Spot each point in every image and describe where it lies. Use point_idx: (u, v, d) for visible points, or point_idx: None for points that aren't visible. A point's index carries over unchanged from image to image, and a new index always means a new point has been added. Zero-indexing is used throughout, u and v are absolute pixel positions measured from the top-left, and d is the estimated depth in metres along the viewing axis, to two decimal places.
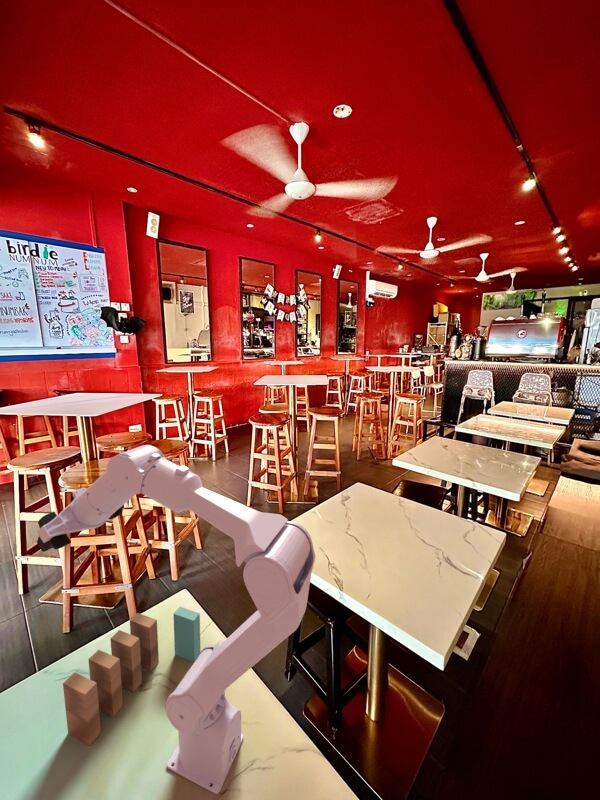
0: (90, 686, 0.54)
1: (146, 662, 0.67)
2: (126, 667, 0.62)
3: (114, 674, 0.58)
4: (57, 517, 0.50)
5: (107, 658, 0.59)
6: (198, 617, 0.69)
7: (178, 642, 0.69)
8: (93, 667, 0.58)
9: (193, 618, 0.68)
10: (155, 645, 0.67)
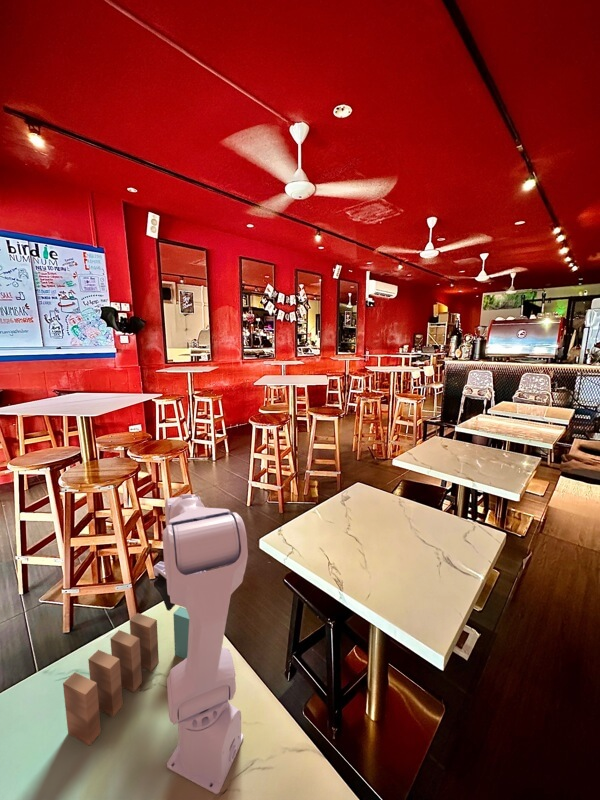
0: (90, 686, 0.54)
1: (146, 662, 0.67)
2: (126, 667, 0.62)
3: (114, 674, 0.58)
4: None
5: (107, 658, 0.59)
6: None
7: (178, 642, 0.69)
8: (93, 667, 0.58)
9: None
10: (155, 645, 0.67)
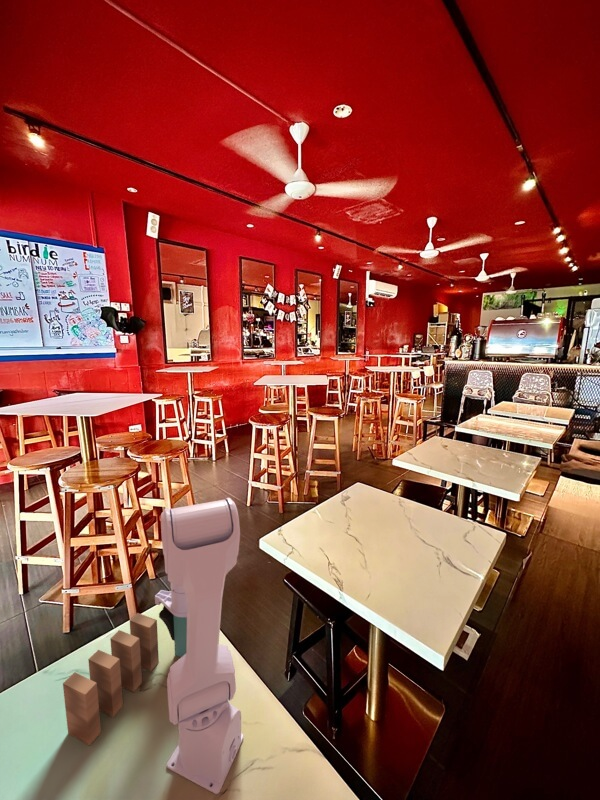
0: (90, 686, 0.54)
1: (146, 662, 0.67)
2: (126, 667, 0.62)
3: (114, 674, 0.58)
4: (170, 591, 0.71)
5: (107, 658, 0.59)
6: None
7: (178, 642, 0.69)
8: (93, 667, 0.58)
9: None
10: (155, 645, 0.67)
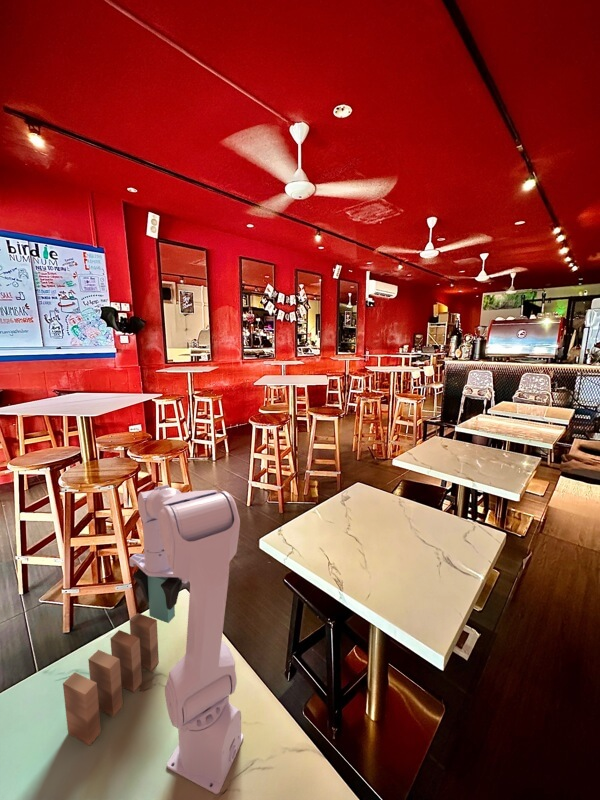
0: (90, 686, 0.54)
1: (146, 662, 0.67)
2: (126, 667, 0.62)
3: (114, 674, 0.58)
4: None
5: (107, 658, 0.59)
6: None
7: (152, 603, 0.70)
8: (93, 667, 0.58)
9: None
10: (155, 645, 0.67)
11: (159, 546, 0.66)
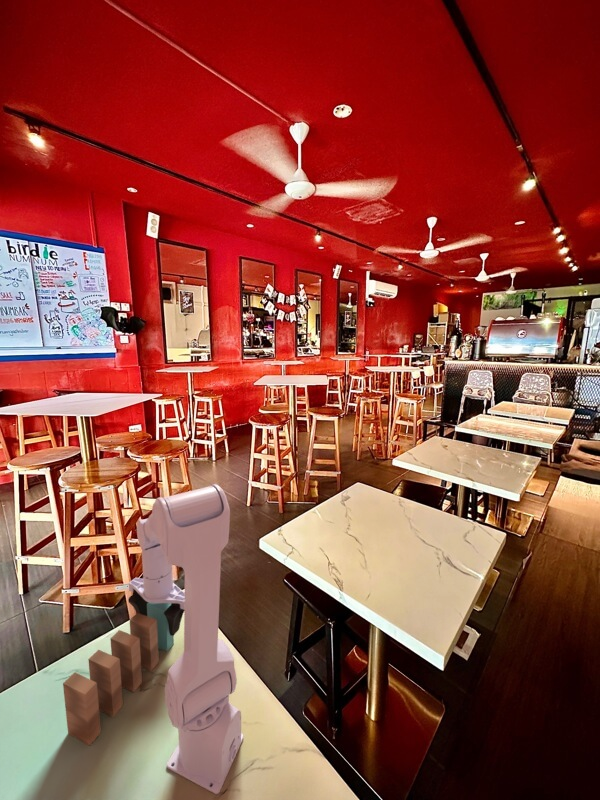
0: (90, 686, 0.54)
1: (146, 662, 0.67)
2: (126, 667, 0.62)
3: (114, 674, 0.58)
4: None
5: (107, 658, 0.59)
6: None
7: None
8: (93, 667, 0.58)
9: (165, 608, 0.70)
10: (155, 645, 0.67)
11: (158, 573, 0.67)
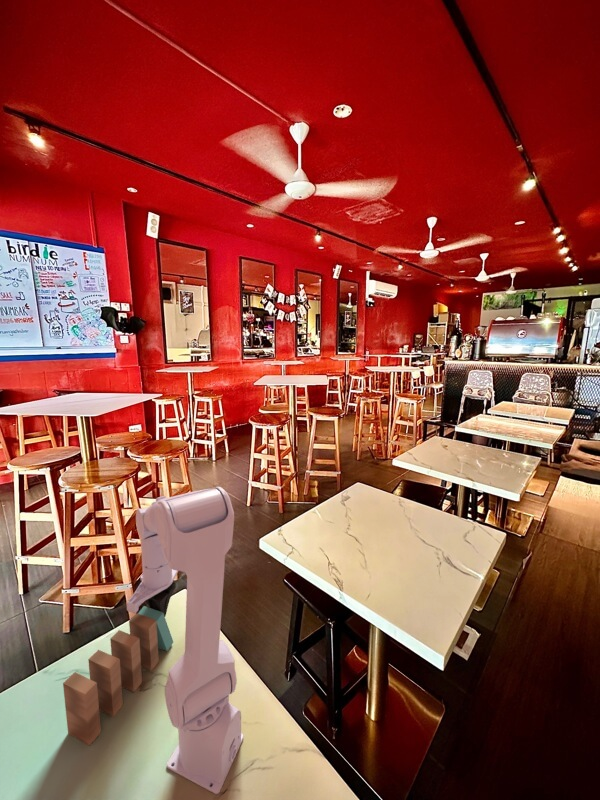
0: (90, 686, 0.54)
1: (146, 662, 0.67)
2: (126, 667, 0.62)
3: (114, 674, 0.58)
4: (134, 593, 0.66)
5: (107, 658, 0.59)
6: (162, 616, 0.69)
7: None
8: (93, 667, 0.58)
9: (156, 619, 0.67)
10: (155, 645, 0.67)
11: (157, 562, 0.67)
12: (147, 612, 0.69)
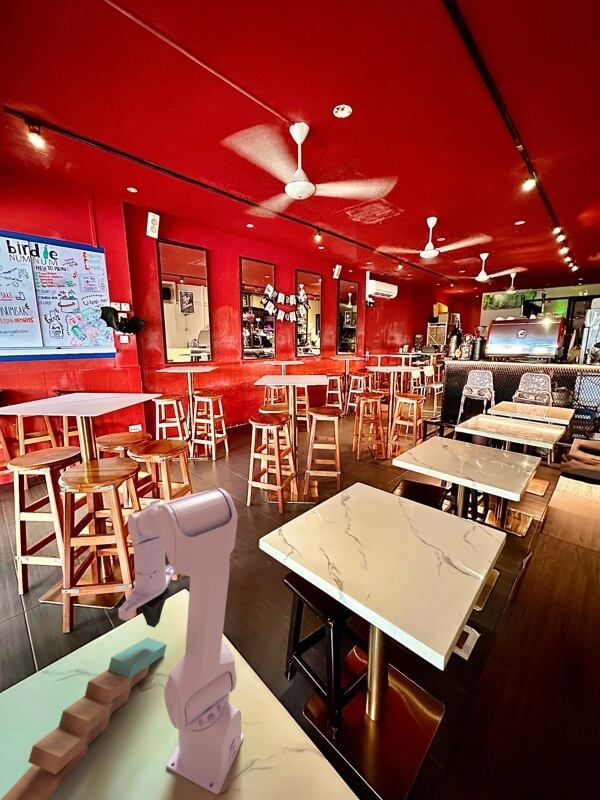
0: None
1: None
2: None
3: (69, 757, 0.49)
4: (126, 600, 0.64)
5: (47, 758, 0.48)
6: (134, 666, 0.62)
7: None
8: None
9: (128, 674, 0.61)
10: (132, 679, 0.62)
11: (151, 567, 0.65)
12: (117, 665, 0.62)
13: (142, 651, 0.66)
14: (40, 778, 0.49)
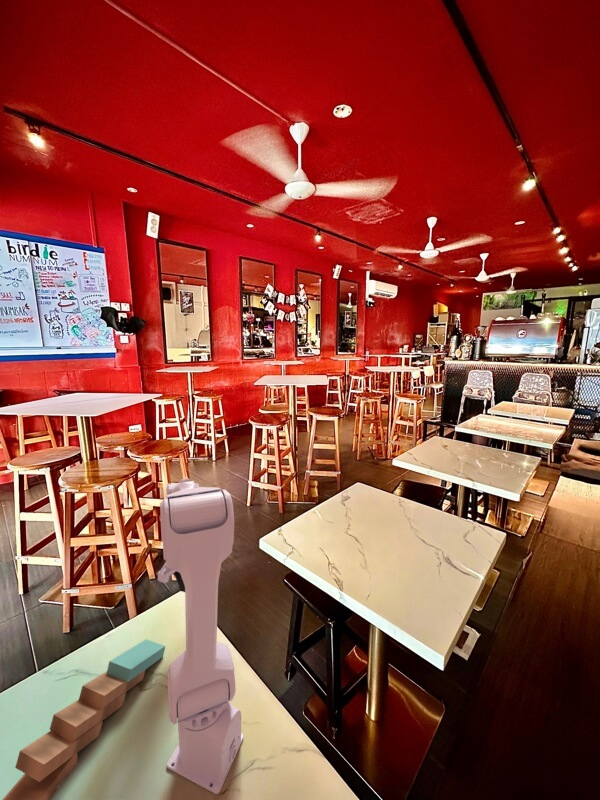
0: None
1: None
2: None
3: (54, 764, 0.48)
4: (164, 565, 0.69)
5: (32, 765, 0.47)
6: (132, 670, 0.61)
7: None
8: None
9: (126, 678, 0.61)
10: (127, 683, 0.61)
11: None
12: (115, 669, 0.62)
13: (140, 654, 0.66)
14: (28, 793, 0.47)
